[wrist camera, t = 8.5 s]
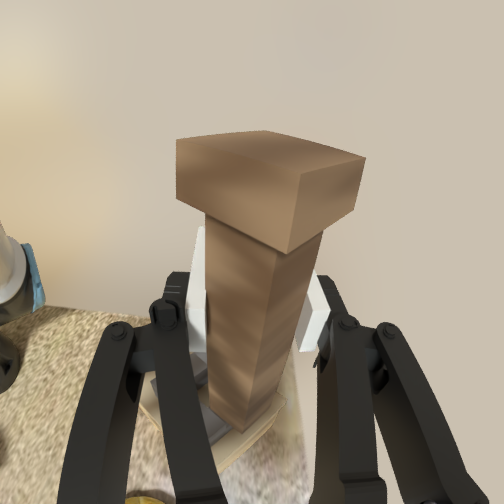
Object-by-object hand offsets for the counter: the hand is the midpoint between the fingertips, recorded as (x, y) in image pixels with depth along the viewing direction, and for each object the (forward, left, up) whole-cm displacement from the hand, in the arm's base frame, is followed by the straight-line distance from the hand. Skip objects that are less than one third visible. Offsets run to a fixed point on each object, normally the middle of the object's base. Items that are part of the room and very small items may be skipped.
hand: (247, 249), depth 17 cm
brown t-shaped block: (+4, -4, -10) cm, 11 cm away
